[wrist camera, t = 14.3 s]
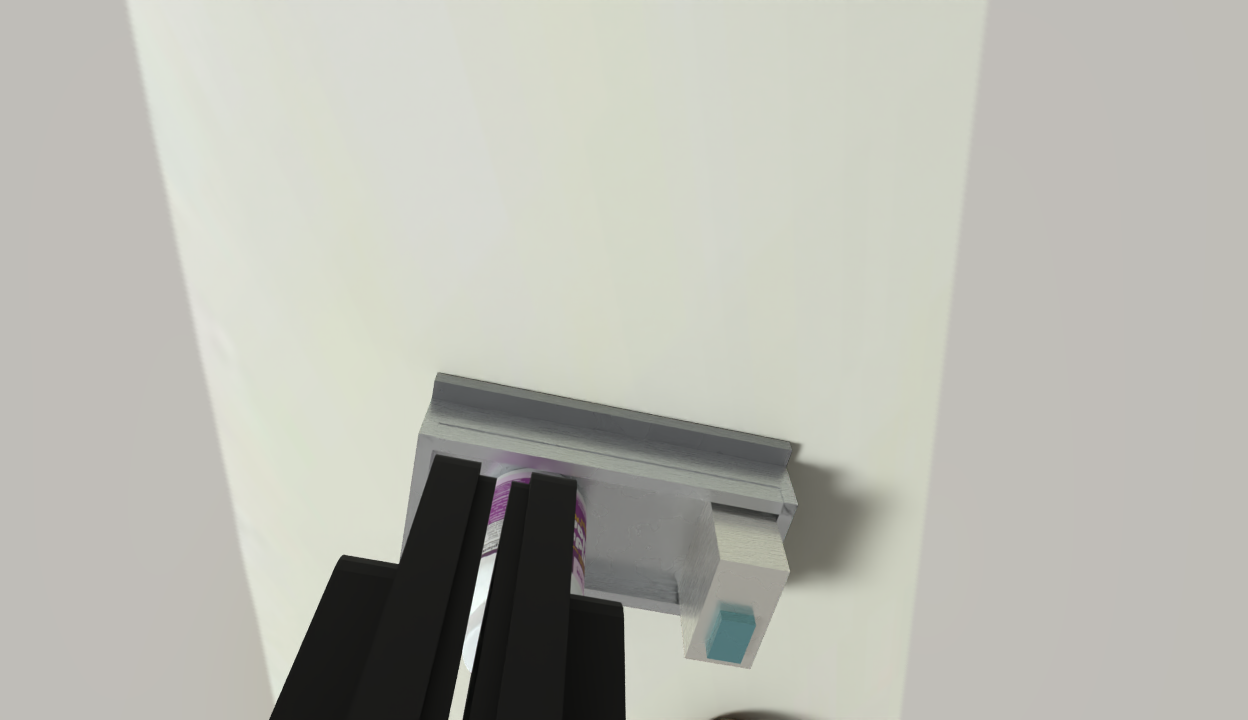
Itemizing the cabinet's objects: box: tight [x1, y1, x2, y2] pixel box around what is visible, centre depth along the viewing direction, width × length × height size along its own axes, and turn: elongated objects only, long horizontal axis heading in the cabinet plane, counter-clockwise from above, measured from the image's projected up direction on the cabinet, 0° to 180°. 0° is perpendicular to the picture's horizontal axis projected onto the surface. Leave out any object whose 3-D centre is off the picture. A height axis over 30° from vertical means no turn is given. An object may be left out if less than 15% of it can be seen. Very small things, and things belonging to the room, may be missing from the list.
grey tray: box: [400, 373, 798, 669], centre depth 41 cm, size 10×18×8 cm, turn 77°
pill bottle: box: [462, 468, 587, 673], centre depth 38 cm, size 5×5×10 cm
